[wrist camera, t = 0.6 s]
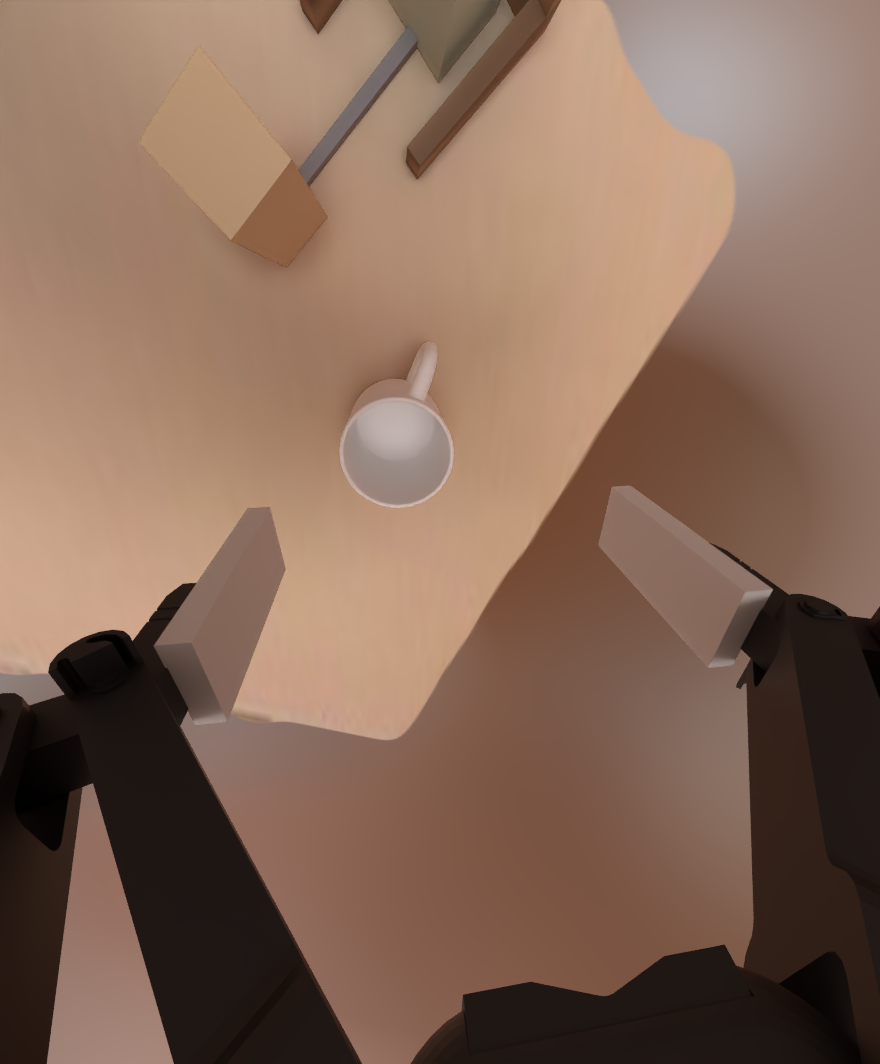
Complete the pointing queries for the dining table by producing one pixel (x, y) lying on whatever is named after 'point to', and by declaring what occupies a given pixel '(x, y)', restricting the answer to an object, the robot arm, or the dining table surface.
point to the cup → (398, 439)
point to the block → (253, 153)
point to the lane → (532, 16)
